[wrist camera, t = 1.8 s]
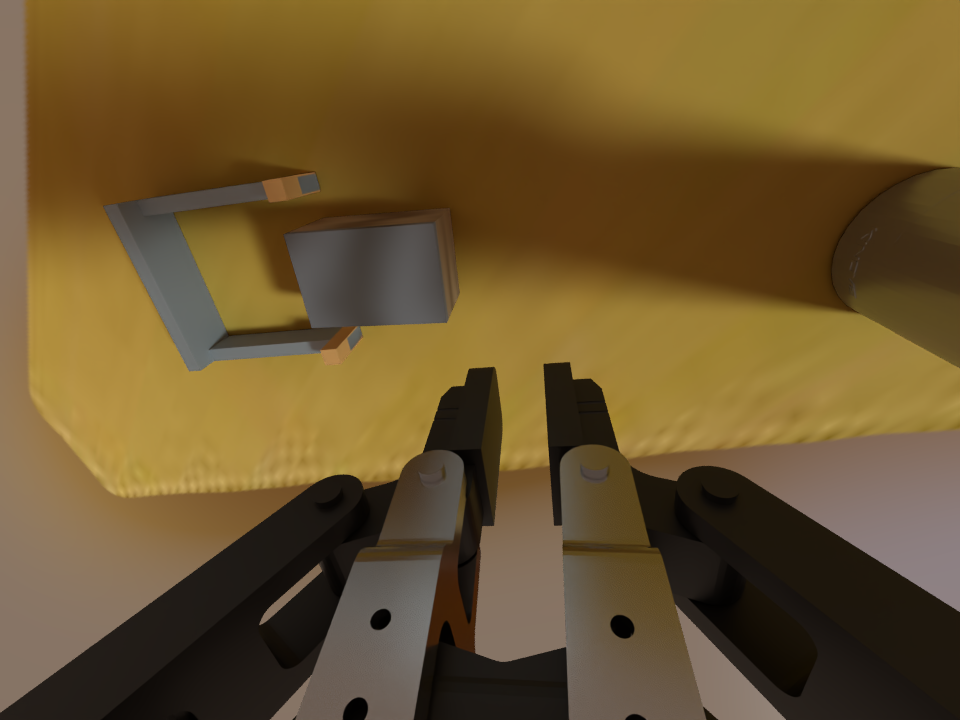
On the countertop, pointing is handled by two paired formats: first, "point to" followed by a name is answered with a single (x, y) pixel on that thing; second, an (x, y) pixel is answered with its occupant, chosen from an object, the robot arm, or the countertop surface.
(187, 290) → the bay
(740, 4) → the countertop surface
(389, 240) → the grey block
